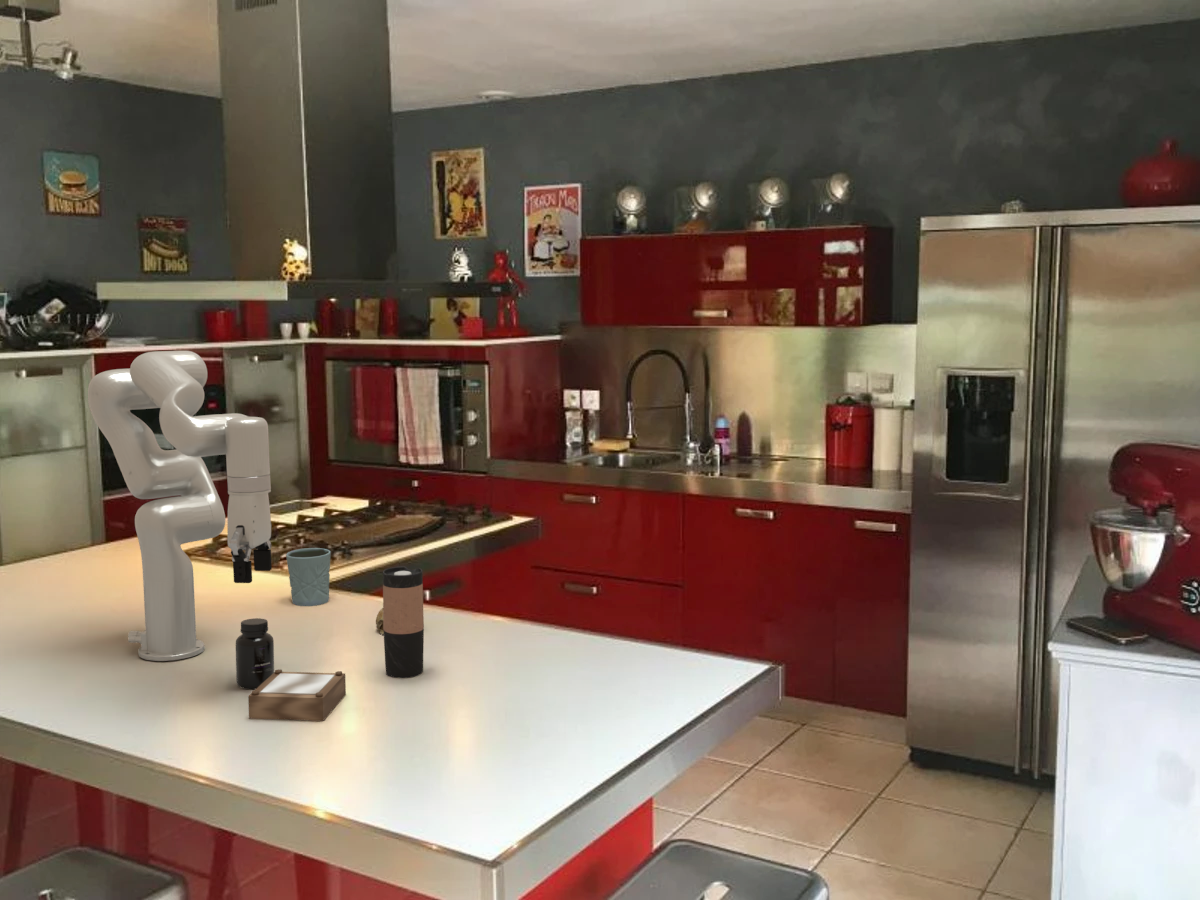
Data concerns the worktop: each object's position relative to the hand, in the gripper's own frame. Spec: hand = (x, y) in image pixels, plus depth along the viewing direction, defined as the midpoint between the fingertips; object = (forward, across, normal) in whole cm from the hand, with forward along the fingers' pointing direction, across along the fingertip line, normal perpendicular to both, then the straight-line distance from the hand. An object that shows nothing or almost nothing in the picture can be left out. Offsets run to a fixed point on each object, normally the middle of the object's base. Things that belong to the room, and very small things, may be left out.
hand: (253, 576), depth 209 cm
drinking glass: (+20, -58, -10) cm, 63 cm away
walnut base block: (+21, +11, +11) cm, 26 cm away
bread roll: (+21, -38, +17) cm, 46 cm away
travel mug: (+21, -9, +25) cm, 34 cm away
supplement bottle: (+21, 0, -1) cm, 21 cm away
